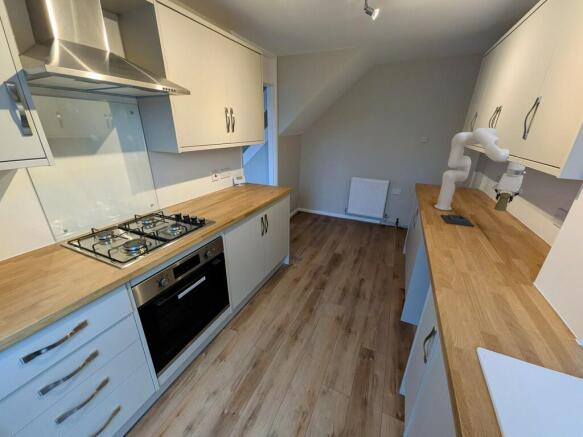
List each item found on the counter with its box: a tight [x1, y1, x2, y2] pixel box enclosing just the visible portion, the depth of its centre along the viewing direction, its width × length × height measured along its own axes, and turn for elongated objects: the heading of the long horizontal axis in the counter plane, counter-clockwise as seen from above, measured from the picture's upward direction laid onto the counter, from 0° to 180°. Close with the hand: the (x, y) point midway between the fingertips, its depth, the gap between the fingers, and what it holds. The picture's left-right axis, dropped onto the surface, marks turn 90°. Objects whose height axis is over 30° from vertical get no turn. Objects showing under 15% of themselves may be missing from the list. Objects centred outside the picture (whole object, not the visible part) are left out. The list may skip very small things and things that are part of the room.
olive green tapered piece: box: [493, 192, 512, 212], centre depth 148 cm, size 6×6×11 cm
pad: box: [440, 213, 474, 228], centre depth 171 cm, size 16×16×3 cm
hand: (503, 200), depth 148 cm, fingers closed on olive green tapered piece, 5 cm apart
